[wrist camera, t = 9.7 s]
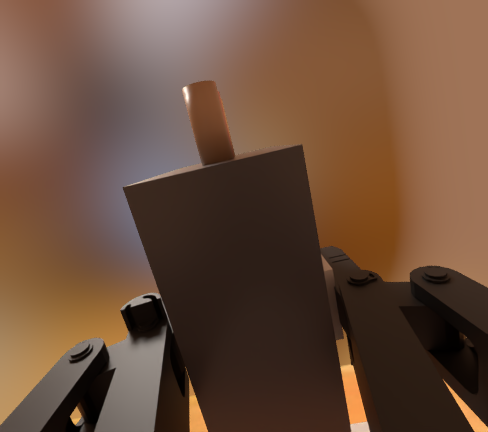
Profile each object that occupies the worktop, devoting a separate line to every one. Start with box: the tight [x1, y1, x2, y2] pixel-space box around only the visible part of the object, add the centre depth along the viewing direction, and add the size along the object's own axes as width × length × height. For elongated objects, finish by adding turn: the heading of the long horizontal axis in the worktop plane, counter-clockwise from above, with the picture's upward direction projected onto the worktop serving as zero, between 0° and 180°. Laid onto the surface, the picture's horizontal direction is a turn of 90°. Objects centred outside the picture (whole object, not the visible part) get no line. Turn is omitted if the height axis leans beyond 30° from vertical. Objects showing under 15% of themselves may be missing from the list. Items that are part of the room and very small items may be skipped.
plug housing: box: [123, 81, 351, 432], centre depth 10 cm, size 4×6×14 cm, turn 1°
